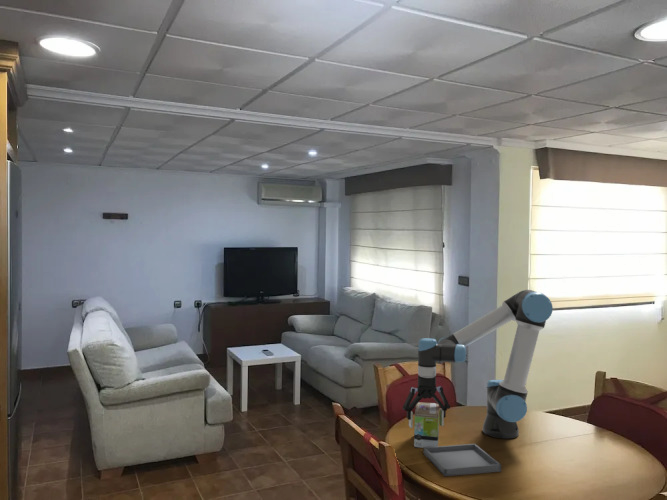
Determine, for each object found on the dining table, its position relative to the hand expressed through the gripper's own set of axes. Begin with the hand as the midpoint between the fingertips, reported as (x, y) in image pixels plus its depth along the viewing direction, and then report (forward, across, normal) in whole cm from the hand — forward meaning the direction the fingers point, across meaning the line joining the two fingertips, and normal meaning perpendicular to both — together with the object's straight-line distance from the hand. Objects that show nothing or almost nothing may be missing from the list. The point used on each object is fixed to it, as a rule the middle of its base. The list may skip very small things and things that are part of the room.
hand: (426, 426), depth 226 cm
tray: (+7, -5, +23) cm, 24 cm away
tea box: (+7, 0, 0) cm, 7 cm away
